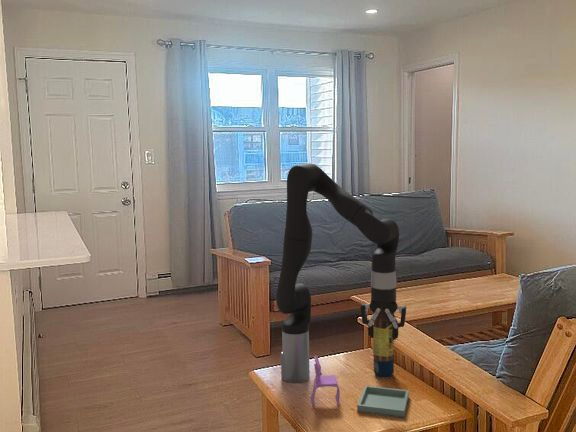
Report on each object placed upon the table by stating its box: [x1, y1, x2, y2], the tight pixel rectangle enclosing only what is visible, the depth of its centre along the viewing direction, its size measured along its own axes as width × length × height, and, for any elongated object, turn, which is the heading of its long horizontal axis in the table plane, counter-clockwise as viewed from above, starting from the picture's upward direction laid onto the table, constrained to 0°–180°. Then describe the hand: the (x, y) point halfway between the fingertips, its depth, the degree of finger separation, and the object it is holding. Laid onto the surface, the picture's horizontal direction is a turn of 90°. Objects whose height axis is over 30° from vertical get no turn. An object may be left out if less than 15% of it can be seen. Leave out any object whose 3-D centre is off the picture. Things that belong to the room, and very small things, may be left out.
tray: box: [356, 385, 410, 419], centre depth 169 cm, size 14×14×2 cm
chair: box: [310, 355, 341, 408], centre depth 171 cm, size 8×9×15 cm
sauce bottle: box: [372, 303, 395, 362], centre depth 166 cm, size 6×6×20 cm
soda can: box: [373, 353, 395, 379], centre depth 190 cm, size 7×7×12 cm
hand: (383, 338), depth 167 cm, fingers closed on sauce bottle, 6 cm apart
